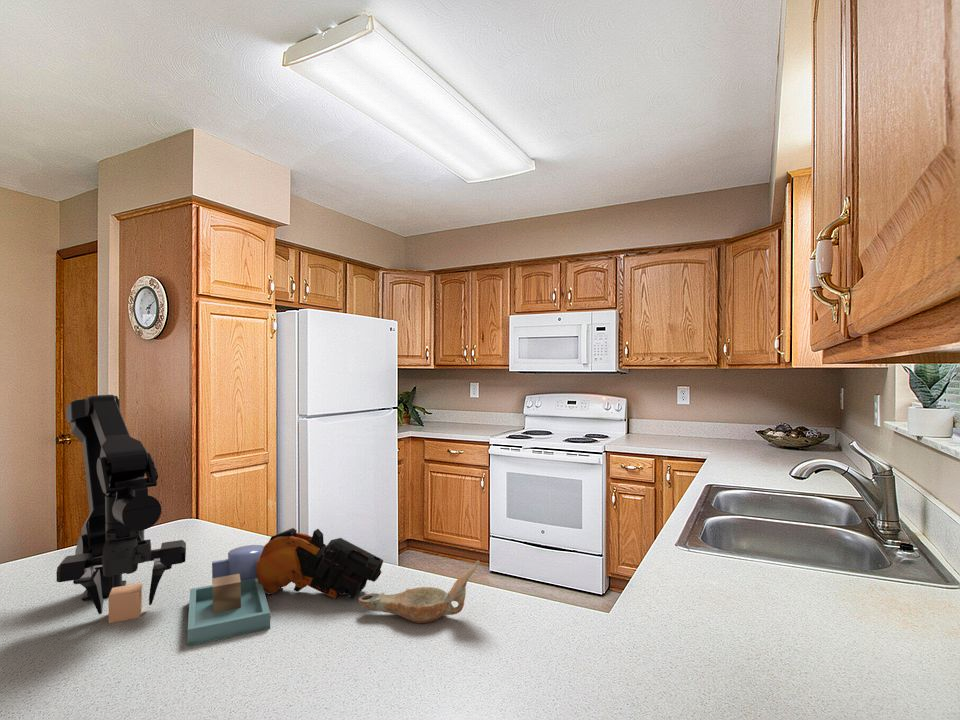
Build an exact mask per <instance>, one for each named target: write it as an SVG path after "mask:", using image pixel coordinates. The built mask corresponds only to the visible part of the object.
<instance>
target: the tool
mask: <svg viewBox="0 0 960 720" xmlns="http://www.w3.org/2000/svg"><path fill="white" fill-rule="evenodd" d="M324 542H325V541H324V533H323V532H322V531H321V530H320V528H317V529H315V530H313V532H312V536H311V535H308V534H305V533H300V532H297V529H296V528H294V527H292V528H289V529H287V530H284V531H282V532H280V533H277V534H275V535H272V536H271V537H270V539H269V541H268V542H267V543H266V544H265V545H263V546H264V548H263V551H262V553H261V556H260V557H259V559H258V561H257V566H256V568H257V569H256V573H257V579H258V582H259V584H262V585H263V589H264V593H265V594H267V595H268V594H269V595H272V594H276V593H277V592H278V590H279V589H282V588H285V587H287V586H288V585H289V584H291V583H293V584H294V585H295V586H294V587H293V591H294V592H297V593H298V592H300V591H301V590H303V589H304V588H306V587H308V588H309V587H310V588H311V589H314V590H316V591H317V592H320V593H322V594H324V595H326V596H328V597H330V598H333V599H336V598H337V596H338V594H340V595H341V596H343V595H344V594H346V595H348V596H349V598H352V599H355V598H356V597H357V596H359V595H360V594H361V592H362V591H363V590H364V589H365V588H366V585H367V582H368V581H369V582H370V581H371V582H372V583H374V582H376V581H377V580H378V579H379V578H380V576H381V574H382V570H381V569H382V566H383V563H384V559H382V558H381V557H378V556H377V555H374V554H372V553H371V552H368V551H367V550H365V549H363V548H361V547H359V546H357V545H355V544H353V543H351V542H350V541H348V540H346V539H344V538H341V537H339V538H338V537H337V538H334V539H330V541H329V542H328V543H327V544H325V543H324Z"/></svg>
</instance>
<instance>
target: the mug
mask: <svg viewBox="0 0 960 720" xmlns="http://www.w3.org/2000/svg"><path fill="white" fill-rule="evenodd" d="M264 546H265V545H262V544H250V545H248V544H247V545H243V546H237V547H235V548H233V549H230V550H229V551H228V553H227V558H226V559H221V560H213V561H211V573H212V574H211V576H212V577H211V579H212V578H217V577H223V576H229V575H235V574H240V580H249V579H254V578H257V573H256V569H257V568H256V566H257V561H258V559H259V557H260V556H261V553H262V551H263V548H264Z"/></svg>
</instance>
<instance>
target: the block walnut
mask: <svg viewBox="0 0 960 720" xmlns="http://www.w3.org/2000/svg"><path fill="white" fill-rule="evenodd" d="M211 579H212V580H211V583H212V584H211V585H212V586H213V613H215V612H220V611H226V610H231V609H236V608H241V580H240V574H235V575H229V576H223V577H217V578H212V577H211Z"/></svg>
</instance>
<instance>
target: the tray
mask: <svg viewBox="0 0 960 720" xmlns="http://www.w3.org/2000/svg"><path fill="white" fill-rule="evenodd" d="M188 604H189V605H188V618H187V619H188V621H187V646H188V647H190V646H196V645H199V644H204V643H208V642H214V641H218V640H222V639H226V638H230V637H231V638H232V637H235V636H240V635H245V634H250V633H254V632H259V631H263V630H268V629H271V611H270V607H269V604H268V600H267V597H266V592H265V591H264V589H263V585H262V584H259V582H258V579H257V578H254V579H249V580H241V608H236V609H231V610H226V611H220V612H215V613H213V586H212V584H211V585H205V586H199V587H194V588H190V589H189V603H188Z"/></svg>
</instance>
